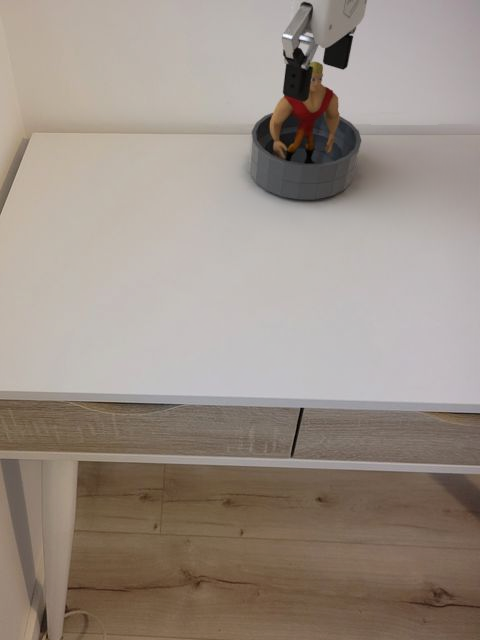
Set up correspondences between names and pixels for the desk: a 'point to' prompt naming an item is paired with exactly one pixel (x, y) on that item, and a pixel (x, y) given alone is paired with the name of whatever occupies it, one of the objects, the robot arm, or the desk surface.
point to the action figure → (306, 116)
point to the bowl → (295, 175)
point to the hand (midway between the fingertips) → (315, 81)
